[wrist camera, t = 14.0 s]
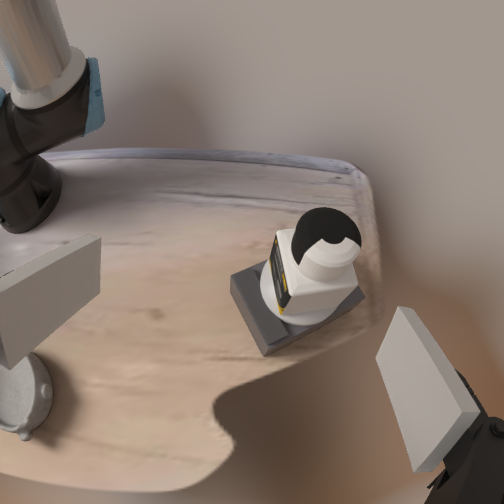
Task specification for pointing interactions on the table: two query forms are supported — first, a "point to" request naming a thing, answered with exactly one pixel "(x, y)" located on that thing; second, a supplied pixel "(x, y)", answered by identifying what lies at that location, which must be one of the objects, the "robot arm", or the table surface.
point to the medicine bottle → (315, 261)
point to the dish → (24, 396)
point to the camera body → (267, 314)
